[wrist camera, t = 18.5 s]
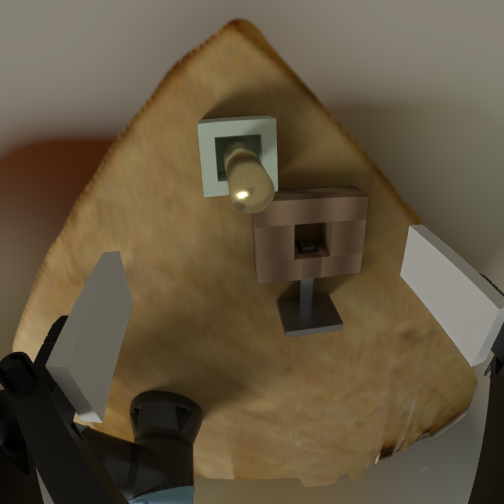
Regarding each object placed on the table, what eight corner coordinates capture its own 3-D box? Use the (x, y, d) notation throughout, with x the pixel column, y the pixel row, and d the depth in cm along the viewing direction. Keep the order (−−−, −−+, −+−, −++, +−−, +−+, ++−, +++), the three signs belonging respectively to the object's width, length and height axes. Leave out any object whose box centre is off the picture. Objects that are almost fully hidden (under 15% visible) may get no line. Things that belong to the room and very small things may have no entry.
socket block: (254, 268, 45) (258, 284, 42) (251, 192, 40) (254, 202, 36) (349, 258, 46) (359, 272, 43) (356, 186, 41) (368, 196, 37)
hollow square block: (205, 184, 39) (204, 197, 34) (199, 119, 35) (197, 124, 31) (270, 179, 39) (278, 191, 35) (268, 115, 36) (276, 118, 31)
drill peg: (223, 164, 37) (231, 215, 23) (221, 138, 35) (227, 172, 22) (250, 162, 37) (275, 211, 23) (249, 136, 36) (274, 168, 22)
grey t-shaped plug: (276, 305, 48) (285, 337, 42) (276, 243, 43) (286, 272, 37) (327, 298, 49) (342, 329, 43) (333, 238, 44) (351, 265, 38)
